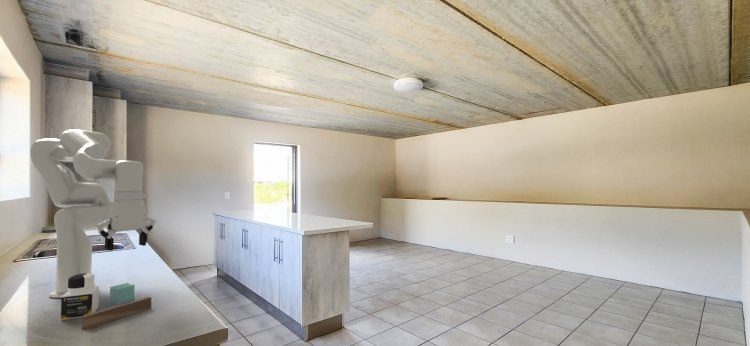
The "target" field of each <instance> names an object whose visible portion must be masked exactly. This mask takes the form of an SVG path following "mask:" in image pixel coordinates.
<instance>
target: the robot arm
mask: <svg viewBox="0 0 750 346" xmlns="http://www.w3.org/2000/svg"><path fill="white" fill-rule="evenodd" d="M110 148H111V140H110V138H109V137H108V136H107V134H105V133H104V132H99V131H90V130H84V129H67V130H65V131H63V132H62V133H61V134H60V135H59V139H58V138H42V139H41V138H40V139H38V140H35V141H34V142H33V143H32V144H31V146H30V153H29V155H30V160H31V162H32V165H33V166H34V168H35V169H36V171H37V172H38V173H39V174H40V176H41V178H42V179H43V181H44V184H45V186H46V189H47V191H48V194H49V196H50V199H51V202H52V203H53V205H54V206H56V207H59V208H61V209H59V210H58V211H56V213H55V214H54V216H53V222H54V223H53V224H54V228H55V233H56V234H55V235H56V264H55V266H56V269H55V289H53V290H52V291H50V292H49V295H48V296H49V297H50V298H54V299H59V298H60V299H61V297H62V296H63V295H64V294H65V293H67V292H68V279H69V278H70V277H72V276H74V275H77V274H84V273H90V274H92V261H93V259H92V258H93V257H92V256H93V243H92V239H91V238H90V237H89V236H88V235H87V234H86V232H87V231H88V232H89V231H95V230H96V231H97V233H98V234H99V235H100V236H102V237H103V238H104V248H105V250H106V251H108V252H109V251H110V252H111V251H113V250H114V241H115V239H114V237H113V236H114V235H115V234H116V233H117V232H118V233H120V232H129V231H137V230H138V231H139V235H138V236H139V237H138V244H139V246H143V247H144V246H146V245H147V243H148V234H150V231H151V230H153V228H154V226H155V224H156V220H155V219H153V218H150V217H147V210H146V209H147V208H146V205H145V204H146V203H145V201H144V200H143V199H144V198H146V197H147V193H145V192H143V183H144V181H143V180H144V179H143V178H144V164H143V163H142V162H141V161H138V160H116V159H115V160H114V159H105V158H106V156H107V152H108V151H109V150H110ZM61 162H67V163H68V162H69V163H73V168H74V171H75V172H76V173H77V174H78V175H80V177H82V178H83V179H85V180H87V181H89V182H81V181H78V180H77V179H76V176H75V174H74V172H73V170H71V169H70V168H69V167H67V166H66V165H65V164H63V163H61ZM96 182H97V183H96ZM98 182H99V183H101V182H103V183H104V182H105V183H107V182H108V183H111V182H112V183H114V195H113V196H114V197H113V201H111V200H110V197H109V196H108V193H107V191H106V190H105V187H104V186H103V185H102V184H99V183H98ZM147 222H148V225H147ZM105 229H106V230H107V231H106V230H105ZM95 286H97V285H96V284H94V287H95Z"/></svg>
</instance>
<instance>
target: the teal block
mask: <svg viewBox="0 0 750 346" xmlns="http://www.w3.org/2000/svg"><path fill="white" fill-rule="evenodd" d="M133 300H134V301H135V284H132V283H128V282H125V283H121V284H118V285H114V286H109V303H112V304H116V305H118V304H119V305H121V304H124V303H128V302H131V301H133Z"/></svg>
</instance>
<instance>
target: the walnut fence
mask: <svg viewBox="0 0 750 346" xmlns="http://www.w3.org/2000/svg"><path fill="white" fill-rule="evenodd" d="M151 309H152V297H150V296H146V297H143V298H140V299H139V298H138V299H136V300H134V301H133V300H131V301H128V302H124V303H121V304H119V305H115V306H112V307H109V308H105V309H101V310H98V311H95V312H94V313H91V314H87V315H84V316H82V317H81V329H82V330H84V331H86V330H88V329H92V328H94V327H98V326H101V325H103V324H107V323H111V322H113V321H117V320H119V319H123V318H126V317H129V316H132V315H136V314H138V313H142V312H145V311H148V310H151Z"/></svg>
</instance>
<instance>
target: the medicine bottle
mask: <svg viewBox="0 0 750 346" xmlns="http://www.w3.org/2000/svg"><path fill="white" fill-rule="evenodd" d="M94 285H95V274H94V273H91V274H90V273H84V274H77V275H74V276H72V277H70V278H69V279H68V292H67V293H65V294H64V295H63V296H62V297H61V298H60V300H61V302H60V305H61V306H60V321H65V320H75V319H80V318H81V319H82V316H84V315H87V314H91V313H94V312H97V310H98V309H99V307H100V305H99V303H100V302H99V301H100V300H99V299H100V286H97V285H96V286H95V287H94Z"/></svg>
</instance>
